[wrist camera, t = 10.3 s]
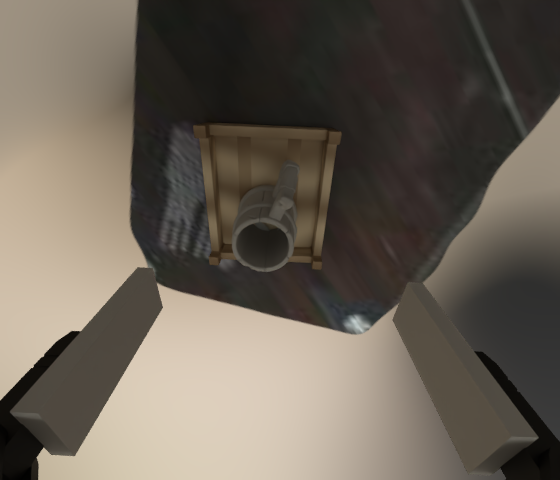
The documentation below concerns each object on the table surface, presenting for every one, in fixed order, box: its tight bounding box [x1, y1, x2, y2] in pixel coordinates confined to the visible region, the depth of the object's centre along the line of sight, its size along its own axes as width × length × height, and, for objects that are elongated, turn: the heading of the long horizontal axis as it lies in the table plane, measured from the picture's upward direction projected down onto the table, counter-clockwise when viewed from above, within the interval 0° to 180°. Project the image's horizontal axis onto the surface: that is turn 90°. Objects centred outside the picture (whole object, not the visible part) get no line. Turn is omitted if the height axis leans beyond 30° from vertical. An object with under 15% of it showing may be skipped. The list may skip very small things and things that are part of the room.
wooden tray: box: [193, 122, 342, 269], centre depth 31 cm, size 17×15×5 cm
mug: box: [232, 160, 300, 272], centre depth 27 cm, size 8×12×12 cm, turn 157°
